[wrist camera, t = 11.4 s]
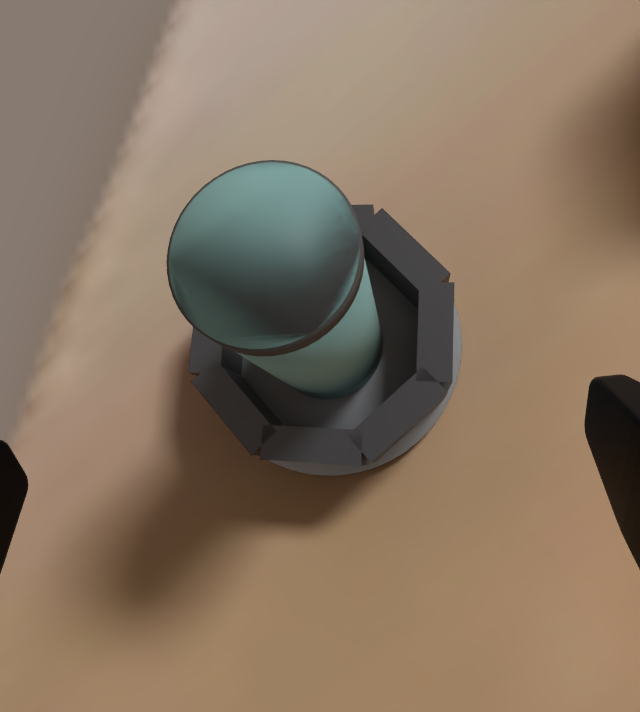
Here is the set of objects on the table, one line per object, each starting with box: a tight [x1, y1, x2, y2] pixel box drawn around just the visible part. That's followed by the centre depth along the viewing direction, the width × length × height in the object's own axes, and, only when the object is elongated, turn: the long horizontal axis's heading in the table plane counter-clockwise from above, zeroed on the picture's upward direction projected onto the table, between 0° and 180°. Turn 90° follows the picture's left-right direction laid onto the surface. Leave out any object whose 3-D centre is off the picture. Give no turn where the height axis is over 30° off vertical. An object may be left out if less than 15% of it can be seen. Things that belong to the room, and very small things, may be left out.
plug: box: [167, 160, 383, 399], centre depth 17 cm, size 4×4×10 cm
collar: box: [189, 205, 462, 476], centre depth 21 cm, size 10×10×3 cm
